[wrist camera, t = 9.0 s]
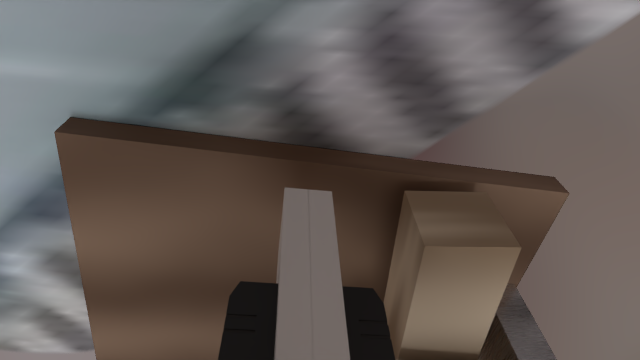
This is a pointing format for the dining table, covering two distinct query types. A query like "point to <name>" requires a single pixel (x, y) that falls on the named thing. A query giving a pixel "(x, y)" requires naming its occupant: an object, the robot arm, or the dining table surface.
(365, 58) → the dining table surface
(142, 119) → the dining table surface
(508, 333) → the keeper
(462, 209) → the link
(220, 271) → the base plate
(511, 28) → the dining table surface
